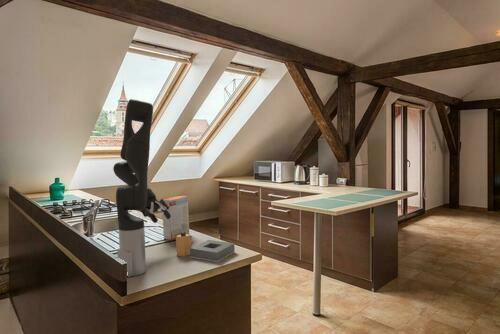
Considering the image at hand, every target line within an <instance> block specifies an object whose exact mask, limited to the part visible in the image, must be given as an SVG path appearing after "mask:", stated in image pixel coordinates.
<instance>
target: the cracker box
mask: <svg viewBox="0 0 500 334" xmlns="http://www.w3.org/2000/svg"><path fill="white" fill-rule="evenodd" d="M162 199H163V198H162ZM163 201H164V202H165V203H166V204H167V205H168V207H169V209H168V210H167V211H168V212H169V213H170V215H171V217H170V219H167V218H166V217H165V215H164V213H162V227H163V228H162V229H163V231H162V233H163V240H165V239H169V240H168V241H174V240H176V236H178V235H180V233H181V224H182V223H187V224H188V225H187V229H188V233H189V234H190V222H189V221H190V218H189V216H190V215H189V198H188V196H187V195H178V196H174V197H173V196H172V197H168V198H165V199H163ZM165 208H166V207H165ZM162 210H164V209H162Z"/></svg>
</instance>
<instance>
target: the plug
mask: <svg viewBox="0 0 500 334" xmlns="http://www.w3.org/2000/svg"><path fill="white" fill-rule="evenodd" d="M190 238H191V234H189V235H188V234H186V232H181V235H178V236H176V239H175V244H176V246H175V248H176V256H180V257H187V256H188V255H189V256H190V248H191V245H192V244H191V241H190Z"/></svg>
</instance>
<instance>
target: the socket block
mask: <svg viewBox="0 0 500 334" xmlns="http://www.w3.org/2000/svg"><path fill="white" fill-rule="evenodd" d="M234 253H235V243H233V242H227V241H220V240H213V239H212V240H211V239H208V240H207V239H206V240H205V241H202V242H200V243H198V244H196V245H194V246H192V247H191V248H190V254H189V258H193V259H197V260H203V261H210V262H214V263H218V262H220V261H222V260H224V259H225V258H228V257H229V256H230V255H232V254H234Z"/></svg>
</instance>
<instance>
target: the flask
mask: <svg viewBox="0 0 500 334" xmlns="http://www.w3.org/2000/svg"><path fill="white" fill-rule="evenodd" d="M187 225H188V224H187V223H182V224H181V232H186V234H188V235H190V232H189V233H188V229H187ZM180 235H181V233H180ZM190 241H191V245H192V244H193V243H194V242H193V240H192V238H191V237H190Z"/></svg>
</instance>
